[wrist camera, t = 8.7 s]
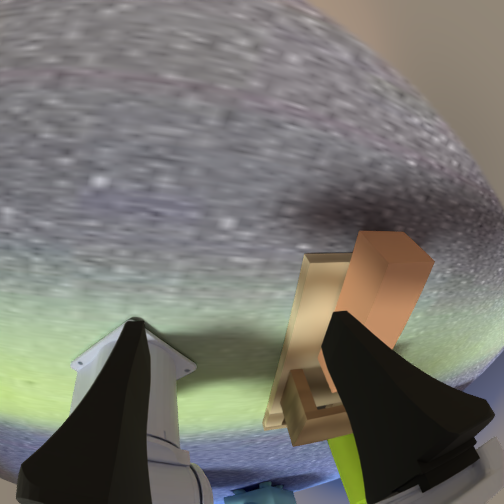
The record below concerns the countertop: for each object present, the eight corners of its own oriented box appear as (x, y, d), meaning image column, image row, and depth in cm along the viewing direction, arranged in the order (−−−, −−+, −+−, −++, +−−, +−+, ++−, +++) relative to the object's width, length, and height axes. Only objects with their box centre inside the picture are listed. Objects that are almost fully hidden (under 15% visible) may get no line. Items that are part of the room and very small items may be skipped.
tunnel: (348, 390, 33) (366, 429, 28) (279, 402, 31) (292, 446, 26) (366, 357, 29) (389, 400, 25) (290, 370, 28) (307, 419, 23)
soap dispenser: (339, 424, 41) (383, 535, 24) (366, 424, 44) (408, 522, 27) (315, 441, 43) (351, 546, 26) (343, 441, 46) (379, 534, 29)
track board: (334, 410, 37) (337, 417, 36) (262, 422, 35) (264, 430, 34) (410, 252, 24) (417, 259, 23) (304, 253, 22) (309, 263, 21)
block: (355, 352, 28) (371, 384, 25) (317, 358, 27) (331, 392, 24) (403, 231, 21) (434, 261, 18) (359, 230, 20) (388, 263, 17)
